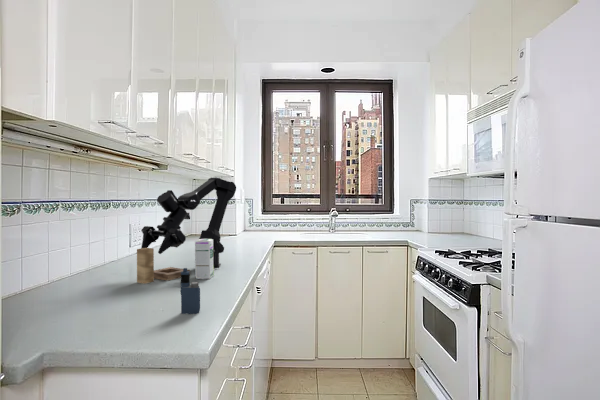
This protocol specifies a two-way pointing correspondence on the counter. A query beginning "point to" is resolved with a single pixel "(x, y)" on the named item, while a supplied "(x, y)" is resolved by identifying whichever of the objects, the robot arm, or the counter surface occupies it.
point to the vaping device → (189, 294)
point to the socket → (168, 273)
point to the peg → (145, 265)
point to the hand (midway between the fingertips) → (150, 252)
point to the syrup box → (204, 259)
